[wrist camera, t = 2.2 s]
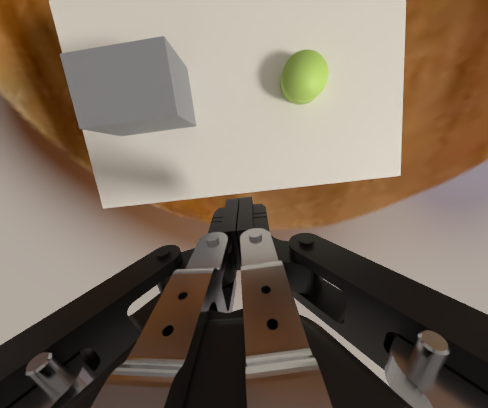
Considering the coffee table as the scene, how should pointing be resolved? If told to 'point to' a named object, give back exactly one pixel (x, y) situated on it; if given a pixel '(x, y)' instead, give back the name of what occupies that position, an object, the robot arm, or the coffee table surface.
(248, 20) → the plate
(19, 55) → the coffee table surface
